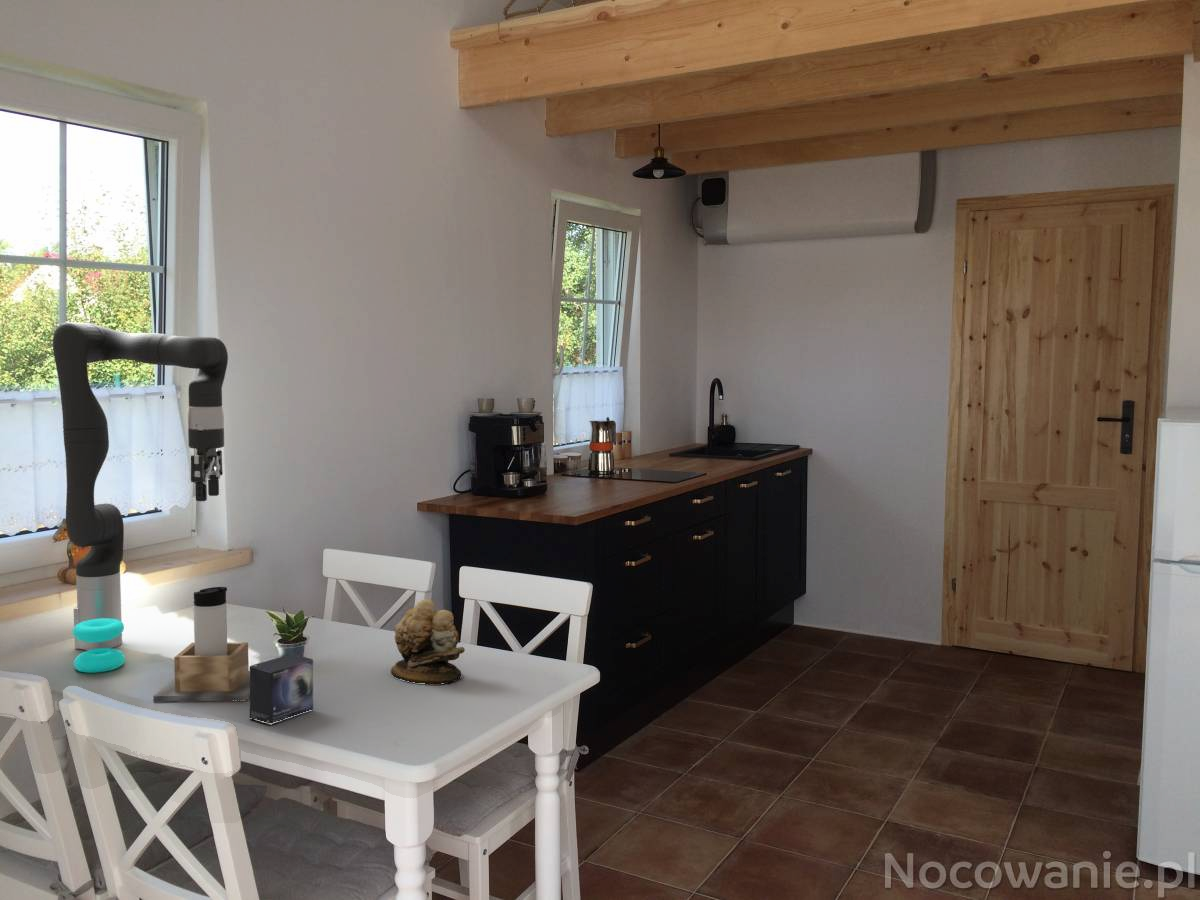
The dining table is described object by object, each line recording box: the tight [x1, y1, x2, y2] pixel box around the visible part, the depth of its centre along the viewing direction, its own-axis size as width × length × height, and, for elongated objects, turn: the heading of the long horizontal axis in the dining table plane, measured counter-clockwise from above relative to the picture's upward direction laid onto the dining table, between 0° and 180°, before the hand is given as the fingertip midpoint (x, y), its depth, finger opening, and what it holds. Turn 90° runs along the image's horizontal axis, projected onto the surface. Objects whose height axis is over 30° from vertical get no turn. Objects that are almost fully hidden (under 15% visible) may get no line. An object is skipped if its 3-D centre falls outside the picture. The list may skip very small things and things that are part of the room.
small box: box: [248, 653, 314, 723], centre depth 193 cm, size 11×6×10 cm, turn 148°
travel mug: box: [193, 586, 228, 656], centre depth 208 cm, size 6×7×20 cm
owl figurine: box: [390, 598, 465, 684], centre depth 218 cm, size 18×12×17 cm, turn 62°
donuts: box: [72, 618, 126, 674], centre depth 222 cm, size 10×10×10 cm
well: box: [152, 641, 250, 702], centre depth 208 cm, size 18×16×8 cm
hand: (207, 498), depth 229 cm, fingers open, 8 cm apart
